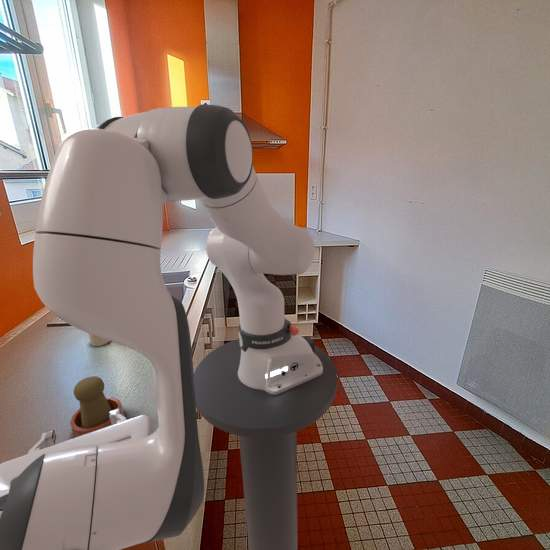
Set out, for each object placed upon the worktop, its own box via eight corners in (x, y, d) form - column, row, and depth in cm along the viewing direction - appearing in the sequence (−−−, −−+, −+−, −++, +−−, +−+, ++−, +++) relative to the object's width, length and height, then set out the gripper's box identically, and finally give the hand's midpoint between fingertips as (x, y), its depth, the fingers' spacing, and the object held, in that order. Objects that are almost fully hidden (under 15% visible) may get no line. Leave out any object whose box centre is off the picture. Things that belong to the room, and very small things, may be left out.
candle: (105, 335, 99) (98, 307, 96) (114, 340, 96) (107, 312, 93) (88, 343, 95) (80, 314, 92) (96, 348, 92) (88, 319, 89)
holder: (126, 405, 69) (123, 392, 68) (121, 436, 61) (118, 423, 60) (80, 416, 66) (76, 403, 65) (69, 451, 58) (64, 437, 57)
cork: (122, 417, 65) (111, 375, 61) (97, 440, 59) (84, 395, 56) (101, 410, 67) (89, 369, 63) (75, 432, 61) (61, 388, 58)
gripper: (156, 446, 42) (146, 386, 54) (-39, 522, 33) (0, 432, 45) (163, 478, 44) (152, 414, 56) (-19, 558, 35) (14, 463, 47)
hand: (83, 422), depth 50 cm, fingers open, 8 cm apart
